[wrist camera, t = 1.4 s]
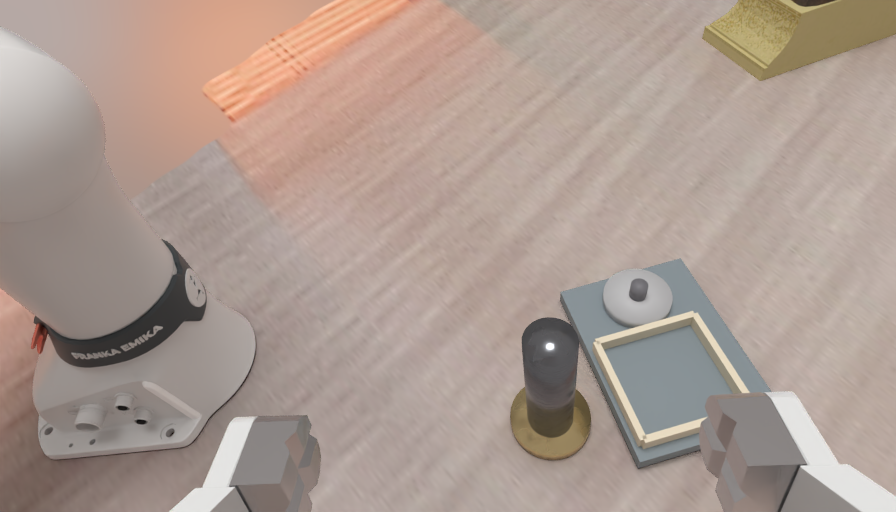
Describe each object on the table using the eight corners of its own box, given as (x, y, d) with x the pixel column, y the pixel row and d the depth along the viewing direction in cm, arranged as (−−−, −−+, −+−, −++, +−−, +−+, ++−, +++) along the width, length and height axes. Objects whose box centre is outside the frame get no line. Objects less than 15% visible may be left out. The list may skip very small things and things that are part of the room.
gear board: (637, 468, 47) (644, 449, 44) (560, 300, 58) (560, 275, 55) (783, 425, 47) (800, 403, 44) (677, 267, 59) (685, 240, 56)
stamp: (525, 469, 48) (518, 398, 37) (501, 397, 53) (489, 315, 42) (602, 446, 48) (617, 370, 38) (572, 376, 53) (578, 290, 42)
